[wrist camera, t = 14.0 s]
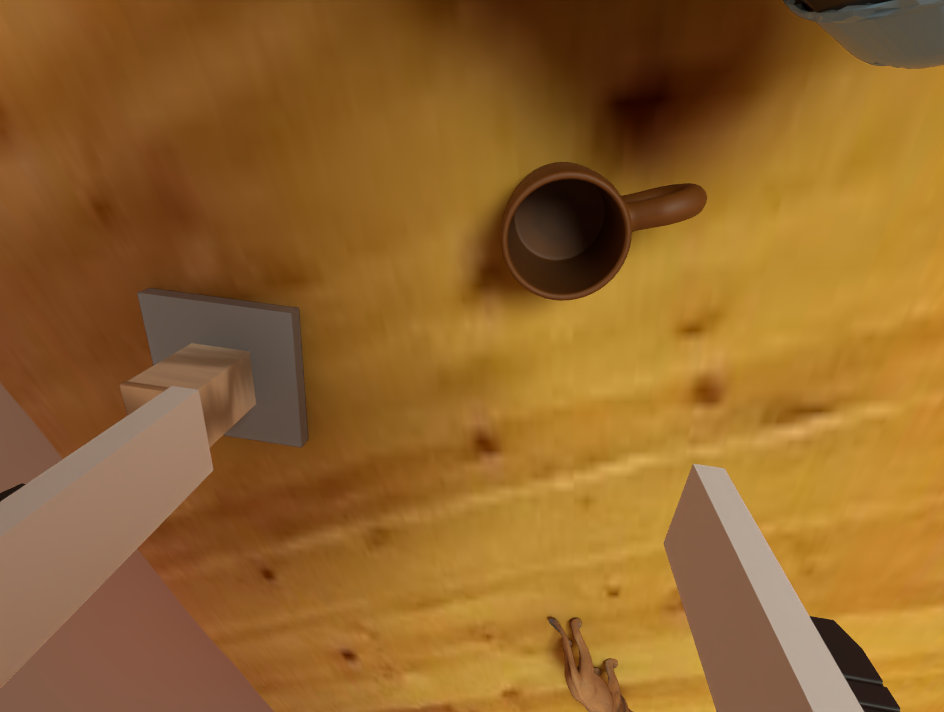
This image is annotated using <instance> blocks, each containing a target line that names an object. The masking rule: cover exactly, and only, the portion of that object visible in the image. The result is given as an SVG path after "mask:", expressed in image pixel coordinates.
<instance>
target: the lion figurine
mask: <svg viewBox="0 0 944 712" xmlns="http://www.w3.org/2000/svg"><path fill="white" fill-rule="evenodd" d="M549 623H550V624H551V625H552V626H553V627H554V628H555V629H557V630H558V631H559V632H560V634H561V636H562V637H563V640H562V646H563V650H564V653H565V679H566V682H567V685H568V688H569V690H570V692H571V694H572V696H573V697H574V698H575V699H576V700H577V701H579V702H580V703H582V704H583V705H584V706H585V708H586V709H587V710H588V711H589V712H633V711H631V710H630V709H629V708H628V705H627V703H626V700H625V699H624V698H623V697H622V695H621V694H620V689H619V684H618V681H617V678H616V676H615V673H614V669H613V668H616V667H617V666H618V662H617V660H615V659H608V660H606V662H605V668H606V672H607V674H608V679H609V682H608V686H606V684H605V683H604V681H603V680H602V679H601V678H600V675H601V671H600V669H599V668H593V664H592V659H591V656H590V653H589V650H588V648H587V646H586V644H585V642H584V640H583V638H582V636H581V634H580V631H579V629H580V627H581V624H582V622H581V620H580V619H578V618H575V619H573V620H572V621H571V628H572V632H573V636H574V639H575V640H576V642H577V644H578V648H579V655H580V658H579V665H578V668H576V666H575V663H574V658H573V654H572V650H571V647H572V642H571V641H570V640H569V639H568V638H567V636H566V634H565V632H564V630H563V629H562V628H561V626H560V625H559V623H558V622H557V620H554V619H549Z"/></svg>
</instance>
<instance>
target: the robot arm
mask: <svg viewBox="0 0 944 712" xmlns="http://www.w3.org/2000/svg"><path fill="white" fill-rule="evenodd" d="M783 1H784V3H785V4H786V5H787V6H788V8H789V9H790V10H791V11H792V12H793V13H795V14H796V15H798V16H799V17H801V18H805V19H808V20H811V21H815V22H816V23H817V24H818V25H819V26H821V27H822V28H823V29H824V30H825V31H826V32H827V33H828V34H830V35H831V36H832V37H833V38H834V39H835V40H836V41H837V42H839V43H840V44H841V45H842V46H843V47H844V48H845V49H846V50H848V51H849V52H850V53H851V54H852V55H854V56H855V57H856V58H858V59H860V60H862V61H864V62H867V63H869V64H871V65H876V66H893V67H896V68H900V67H902V68H907V69H920V68H927V67H935V66H940V65H944V0H783ZM212 471H213V465H212V459H211V454H210V448H209V443H208V437H207V432H206V426H205V421H204V416H203V410H202V405H201V399H200V394H199V390H197V389H191V388H184V387H177V386H171V387H170V388H168V389H167V390H165V391H164V392H162V393H161V394H159V395H158V396H156V397H155V398H153V399H152V400H150V401H149V402H147V403H146V404H144V405H143V406H141V407H140V408H138V409H137V410H135V411H134V412H133V413H131V414H130V415H128V416H127V417H125V418H124V419H122V420H121V421H119V422H118V423H116V424H115V425H113V426H112V427H110V428H109V429H107V430H106V431H104V432H103V433H101V434H100V435H98V436H97V437H95V438H94V439H93V440H91V441H90V442H88V443H87V444H85V445H84V446H82V447H81V448H79V449H78V450H76V451H75V452H73V453H72V454H70V455H69V456H67V457H66V458H64V459H63V460H61V461H60V462H58V463H57V464H56V465H54V466H53V467H51V468H50V469H48V470H47V471H45V472H44V473H42V474H41V475H39V476H38V477H37V478H35V479H33V480H32V481H30V482H29V483H27V484H20V485H17V486H15V487H13V488H11V489H9V490H6V491H4V492H2V493H0V688H1V687H2V686H3V685H4V684H5V683H6V682H7V681H8V680H9V679H10V678H11V677H12V676H13V675H14V674H15V673H16V672H17V671H18V670H19V669H20V668H21V666H23V665H24V664H25V663H26V662H27V661H28V660H29V659H30V658H31V657H32V655H34V653H35V652H36V651H37V650H38V649H39V648H40V647H41V646H42V645H43V644H44V643H45V642H46V641H47V640H48V639H49V638H50V637H51V636H52V635H53V634H54V633H55V632H56V631H57V630H58V629H59V628H60V627H61V626H62V625H63V624H64V623H65V622H66V621H67V620H68V619H69V618H70V617H71V616H72V615H73V614H74V613H75V611H77V609H78V608H79V607H80V606H81V605H82V604H83V603H84V602H85V601H86V600H87V599H88V598H89V597H90V596H91V595H92V594H93V593H94V592H95V591H96V590H97V589H98V588H99V587H100V586H101V585H102V584H103V583H104V582H105V581H106V580H107V579H108V578H109V577H110V576H111V575H112V574H113V573H114V572H115V571H116V569H117V568H119V567H120V565H121V564H122V563H123V562H124V561H125V560H126V559H127V558H128V557H129V556H130V555H131V554H132V553H133V552H134V551H135V550H136V549H137V548H138V547H139V546H140V545H141V544H142V543H143V542H144V541H145V540H146V539H147V538H148V537H149V536H150V535H151V534H152V533H153V532H154V531H155V530H156V529H157V528H158V527H159V526H160V525H161V524H162V522H163V521H164V520H165V519H166V518H167V517H168V516H169V515H170V514H171V513H172V512H173V511H174V510H175V509H176V508H177V507H178V506H179V505H180V504H181V503H182V502H183V501H184V500H185V499H186V498H187V497H188V496H189V495H190V494H191V493H192V492H193V491H194V490H195V489H196V488H197V487H198V486H199V485H200V484H201V483H202V482H203V481H204V480H205V478H206V477H207V476H208V475H209V474H210V473H211V472H212ZM664 547H665V550H666V553H667V556H668V559H669V562H670V565H671V569H672V572H673V575H674V578H675V581H676V584H677V588H678V591H679V594H680V597H681V600H682V603H683V607H684V610H685V613H686V616H687V619H688V622H689V626H690V629H691V632H692V635H693V638H694V641H695V645H696V648H697V651H698V654H699V657H700V660H701V664H702V667H703V670H704V673H705V676H706V679H707V683H708V686H709V689H710V692H711V695H712V698H713V702H714V705H715V708H716V711H717V712H900V707H899V706H898V704H897V702H896V701H895V699H894V698H893V696H892V695H891V693H890V692H889V690H888V688H887V687H884V686H883V684H882V682H883V681H882V679H881V678H880V676H879V674H878V673H877V671H876V670H875V668H874V667H873V665H872V663H871V662H870V660H869V659H868V657H867V656H866V654H865V653H864V651H863V649H862V648H861V647H860V646H859V645H858V644H857V643H856V642H855V641H854V640H853V639H852V638H851V637H850V636H849V635H848V634H847V633H846V632H845V631H844V630H843V629H842V628H841V627H840V626H839V625H838V624H837V623H836V622H835V621H834V620H829V619H824V618H818V617H812V616H809V615H808V613H807V612H806V610H805V608H804V606H803V605H802V603H801V601H800V599H799V598H798V596H797V594H796V592H795V591H794V589H793V587H792V585H791V584H790V582H789V580H788V578H787V577H786V575H785V573H784V571H783V570H782V568H781V566H780V564H779V563H778V561H777V559H776V557H775V556H774V554H773V552H772V550H771V549H770V547H769V545H768V544H767V542H766V540H765V538H764V537H763V535H762V533H761V531H760V530H759V528H758V526H757V524H756V523H755V521H754V519H753V517H752V516H751V514H750V512H749V510H748V509H747V507H746V505H745V503H744V502H743V500H742V498H741V496H740V495H739V493H738V491H737V489H736V488H735V486H734V484H733V483H732V481H731V479H730V477H729V476H728V474H727V472H726V470H725V469H724V468H718V467H712V466H705V465H698V464H693V465H692V468H691V471H690V473H689V476H688V479H687V481H686V484H685V487H684V490H683V492H682V495H681V498H680V500H679V503H678V506H677V508H676V511H675V514H674V517H673V519H672V522H671V525H670V527H669V530H668V533H667V535H666V538H665V541H664Z"/></svg>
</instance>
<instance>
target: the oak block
mask: <svg viewBox="0 0 944 712" xmlns="http://www.w3.org/2000/svg"><path fill="white" fill-rule="evenodd" d="M119 386H120V390H121V393H122V397H123V401H124V405H125V408H126V412H127V416H128V415H130V414H131V413H133V412H134V411H135V410H137V409H138V408H140V407H141V406H143V405H144V404H146V403H147V402H149V401H150V400H152V399H153V398H155V397H156V396H158V395H159V394H161V393H162V392H164V391H165V390H167V389H168V388H170V387H171V386H177V387H184V388H191V389H197V390H199V394H200V399H201V405H202V410H203V416H204V421H205V426H206V432H207V437H208V443H209V448H210V447H211V446H212V445H213V444H214V443H215V442H216V441H217V440H219V439H220V438H221V437H222V436H223V435H224V434H225V433H226V432H227V431H228V430H229V429H230V428H231V427H232V426H233V425H234V424H235V423H237V422H238V421H239V420H240V419H241V418H242V417H243V416H244V415H245V414H246V413H247V412H248V411H249V410H250V409H251V408H252V407H254V406H255V405H256V398H255V390H254V382H253V374H252V366H251V358H250V351H243V350H236V349H229V348H222V347H215V346H208V345H201V344H194V343H191V344H189V345H188V346H186V347H184V348H183V349H181V350H179V351H178V352H176V353H174V354H172V355H171V356H169V357H167V358H166V359H164V360H162V361H161V362H159V363H157V364H155V365H154V366H152V367H150V368H149V369H147V370H145V371H144V372H142V373H140V374H138V375H137V376H135V377H133V378H132V379H130V380H128V381H125V382H123V383H121V384H120V385H119Z"/></svg>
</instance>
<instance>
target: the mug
mask: <svg viewBox="0 0 944 712" xmlns="http://www.w3.org/2000/svg"><path fill="white" fill-rule="evenodd" d="M706 201H707V195H706V192H705V190H704V189H703V188H702V187H701V186H699V185H696V184H676V185H668V186H663V187H658V188H653V189H649V190H645V191H641V192H638V193H633V194H629V195H624V196H620V194H619V192H618V191H617V190H616V188H615V187H614V186H613V185H612V184H611V183H610V182H609V181H608V180H607V179H605V178H604V177H603V176H601V175H600V174H598V173H596V172H594V171H592V170H590V169H588V168H586V167H584V166H581V165H578V164H574V163H569V162H558V163H552V164H547V165H545V166H542V167H540V168H538V169H536V170H534V171H533V172H532V173H530V174H529V175H528V176H527V177H525V178H524V179H523V180H522V182H521V183H520V184H519V185H518V187H517V188H516V190H515V191H514V193H513V195H512V197H511V199H510V201H509V203H508V205H507V208H506V210H505V213H504V216H503V221H502V227H501V243H502V251H503V256H504V259H505V262H506V264H507V266H508V268H509V270H510V272H511V273H512V275H513V276H514V278H515V279H516V280H517V281H518V282H519V283H520V284H521V285H522V286H523V287H524V288H526V289H527V290H529V291H530V292H532V293H534V294H536V295H538V296H541V297H544V298H547V299H552V300H573V299H578V298H582V297H585V296H588V295H590V294H592V293H594V292H596V291H598V290H599V289H601V288H602V287H604V286H605V285H606V284H607V283H608V282H610V281H611V280H612V279H613V278H614V276H615V275H616V274H617V273H618V272H619V270H620V268H621V267H622V265H623V264H624V261H625V259H626V257H627V255H628V251H629V248H630V243H631V235H632V231H636V230H641V229H647V228H653V227H659V226H665V225H669V224H673V223H677V222H680V221H684V220H686V219H689V218H692V217H694V216H696V215H697V214H699V213H700V212H701V211H702V209H703V208H704V206H705V204H706Z"/></svg>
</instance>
